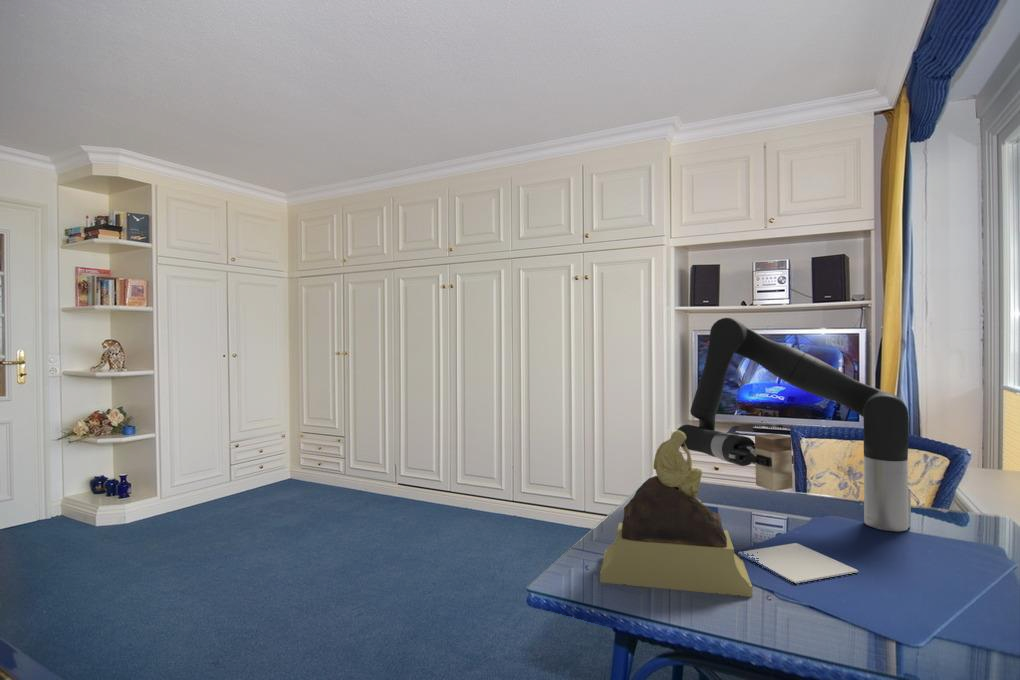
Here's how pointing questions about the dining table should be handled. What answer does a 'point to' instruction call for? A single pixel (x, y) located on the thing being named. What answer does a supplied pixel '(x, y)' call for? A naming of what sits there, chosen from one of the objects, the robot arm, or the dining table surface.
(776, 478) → the two-tone block
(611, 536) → the dining table surface
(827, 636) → the dining table surface
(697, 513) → the seated figure statue
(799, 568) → the off-white mat
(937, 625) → the dining table surface
